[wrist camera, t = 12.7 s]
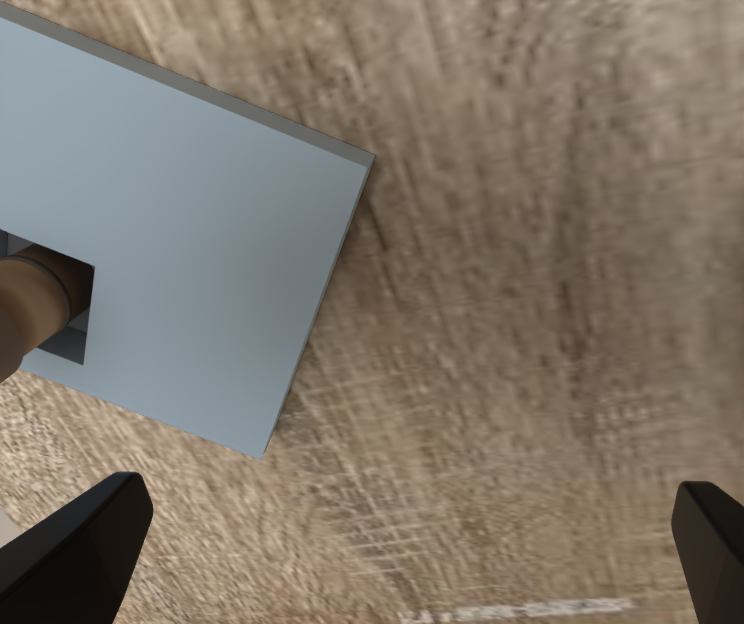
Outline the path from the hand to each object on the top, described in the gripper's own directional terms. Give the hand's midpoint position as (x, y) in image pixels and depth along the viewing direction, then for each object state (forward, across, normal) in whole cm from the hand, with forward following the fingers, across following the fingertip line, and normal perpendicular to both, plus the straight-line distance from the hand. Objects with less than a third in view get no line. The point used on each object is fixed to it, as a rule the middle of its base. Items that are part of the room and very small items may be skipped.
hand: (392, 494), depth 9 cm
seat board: (+13, +12, 0) cm, 18 cm away
